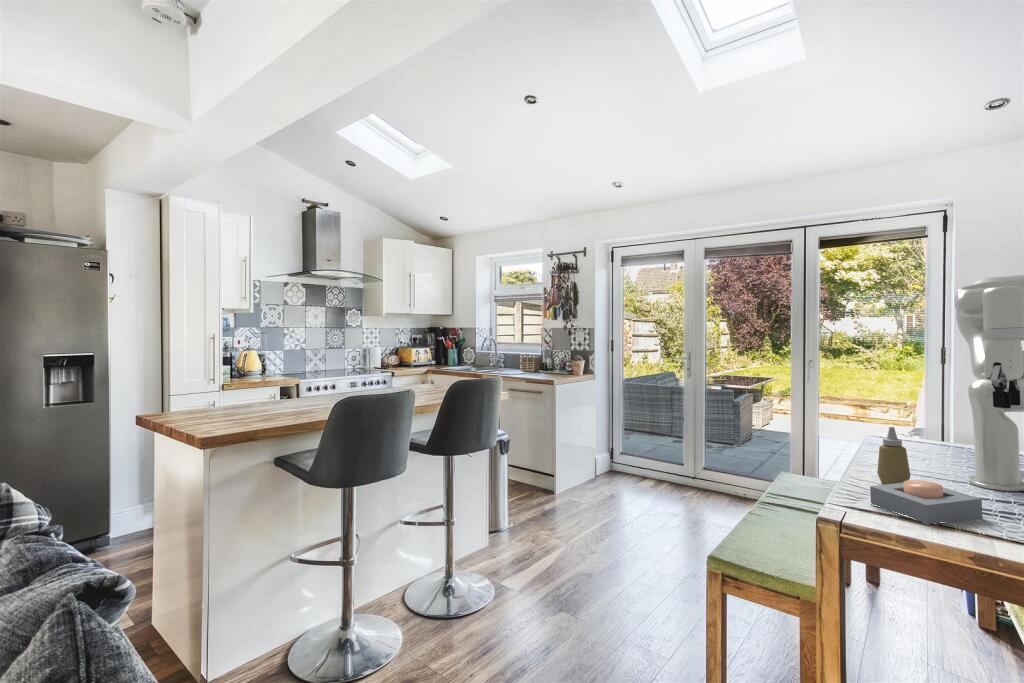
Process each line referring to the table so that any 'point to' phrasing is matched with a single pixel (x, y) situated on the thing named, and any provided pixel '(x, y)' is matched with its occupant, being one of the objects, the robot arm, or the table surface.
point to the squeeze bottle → (892, 460)
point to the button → (923, 489)
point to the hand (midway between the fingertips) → (1006, 405)
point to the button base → (927, 504)
